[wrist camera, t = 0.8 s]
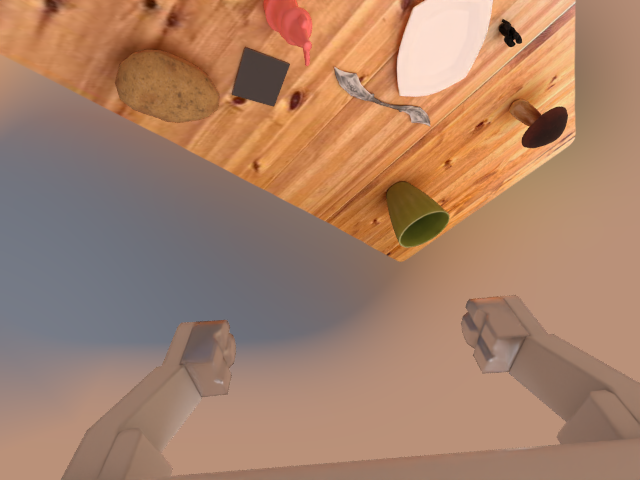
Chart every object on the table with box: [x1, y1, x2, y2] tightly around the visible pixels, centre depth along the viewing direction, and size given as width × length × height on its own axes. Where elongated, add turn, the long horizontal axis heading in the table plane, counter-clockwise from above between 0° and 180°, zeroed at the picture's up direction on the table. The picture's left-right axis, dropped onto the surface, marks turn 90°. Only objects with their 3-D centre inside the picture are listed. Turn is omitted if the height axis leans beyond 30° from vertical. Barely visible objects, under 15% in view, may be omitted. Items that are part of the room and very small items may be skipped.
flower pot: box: [386, 182, 449, 247], centre depth 90 cm, size 15×15×16 cm
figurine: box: [264, 0, 312, 66], centre depth 43 cm, size 5×5×15 cm
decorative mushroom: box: [510, 99, 568, 148], centre depth 78 cm, size 11×11×15 cm
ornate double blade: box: [334, 67, 430, 126], centre depth 67 cm, size 32×1×5 cm
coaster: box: [232, 47, 290, 106], centre depth 55 cm, size 8×8×1 cm
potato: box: [115, 50, 219, 123], centre depth 47 cm, size 10×14×8 cm
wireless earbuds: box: [499, 19, 522, 47], centre depth 62 cm, size 7×2×5 cm, turn 55°
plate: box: [397, 0, 493, 97], centre depth 60 cm, size 19×19×2 cm
